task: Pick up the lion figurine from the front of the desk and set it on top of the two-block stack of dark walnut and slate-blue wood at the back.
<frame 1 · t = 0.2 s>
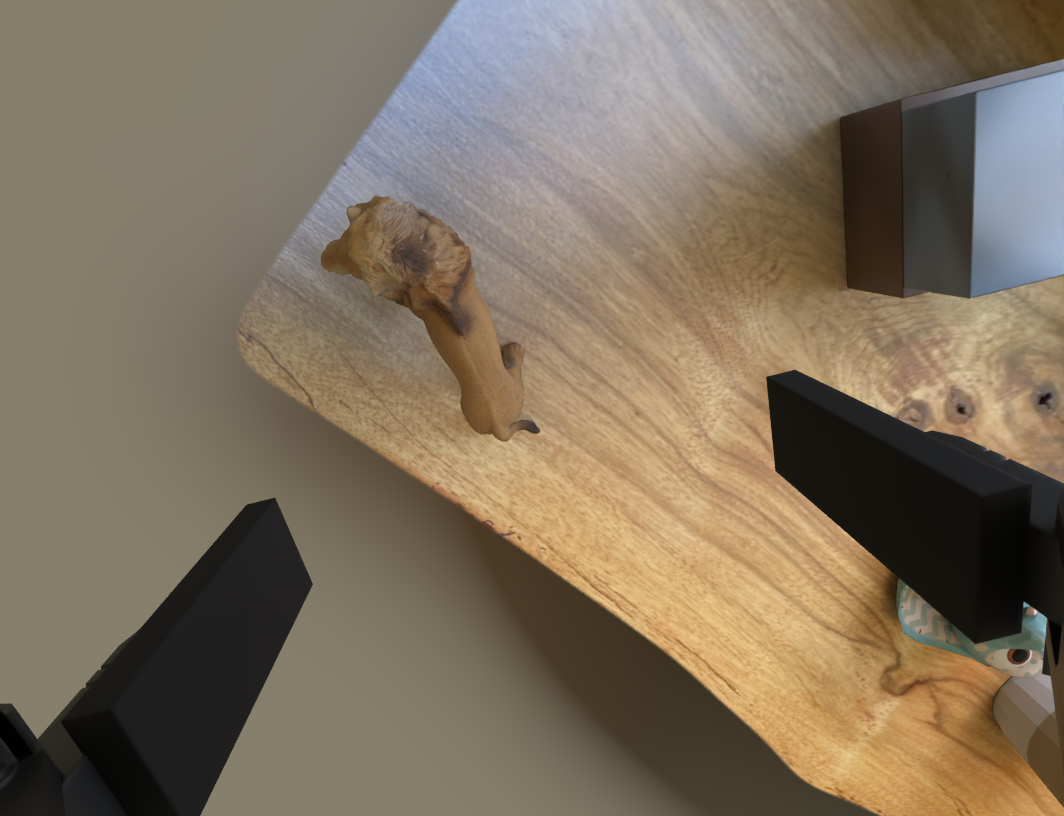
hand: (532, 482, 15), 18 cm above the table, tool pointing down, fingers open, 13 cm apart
coffee cup: (1033, 695, 43), on the table
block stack: (942, 182, 30), on the table
lion figurine: (457, 320, 31), on the table
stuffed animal: (949, 569, 39), on the table
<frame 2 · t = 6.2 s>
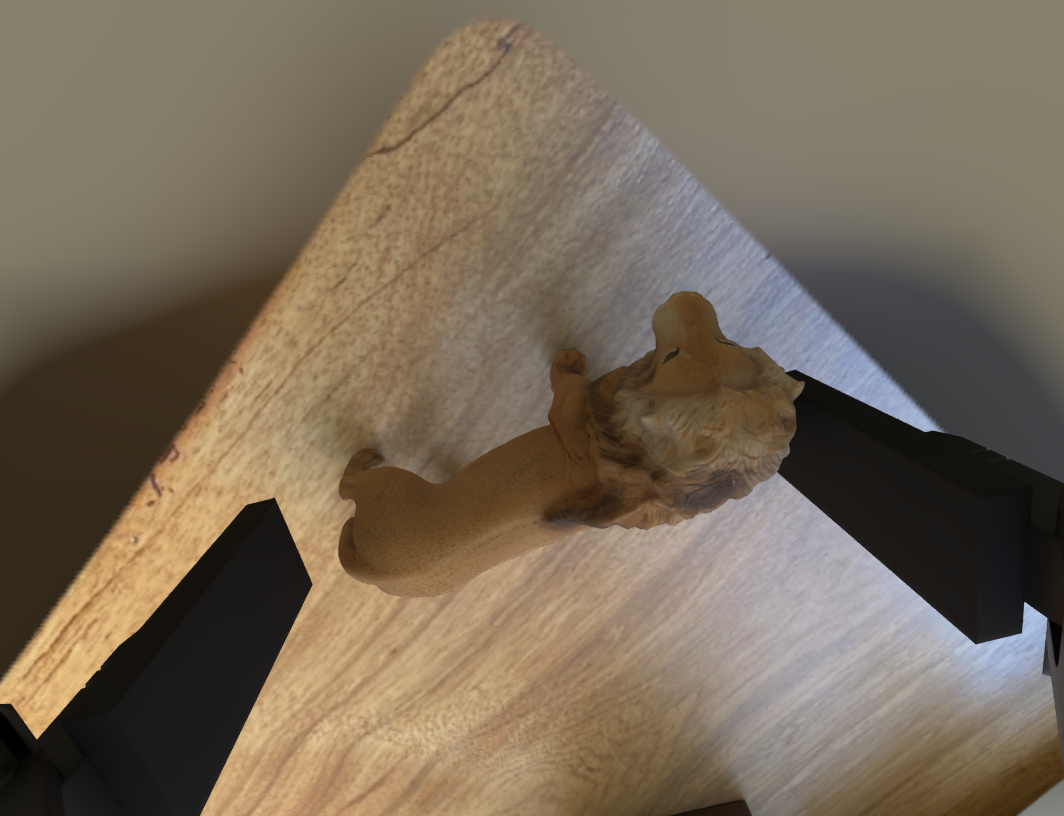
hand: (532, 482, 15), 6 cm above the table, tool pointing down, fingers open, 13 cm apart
lion figurine: (516, 413, 20), on the table
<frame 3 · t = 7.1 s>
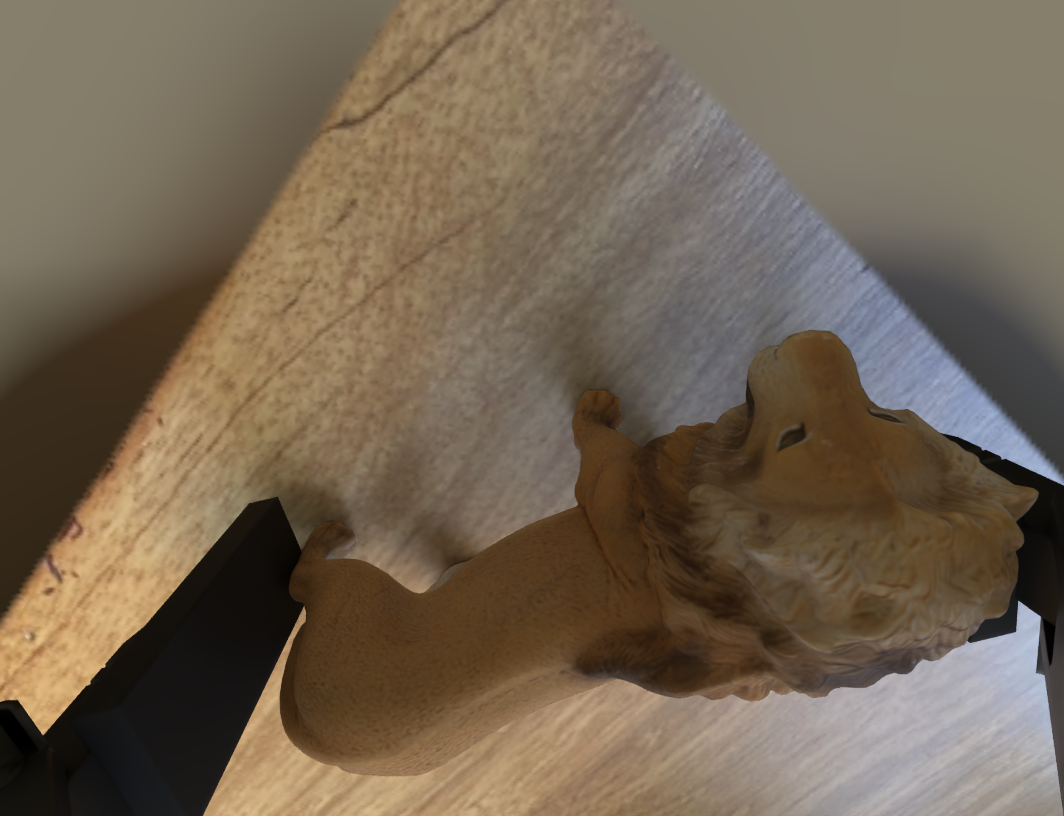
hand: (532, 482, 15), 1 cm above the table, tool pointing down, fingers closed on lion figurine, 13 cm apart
lion figurine: (526, 471, 15), on the table, touching gripper
when the fingers open (9 cm above the table, at t = 15.3 s): lion figurine stays where it is, resting on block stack.
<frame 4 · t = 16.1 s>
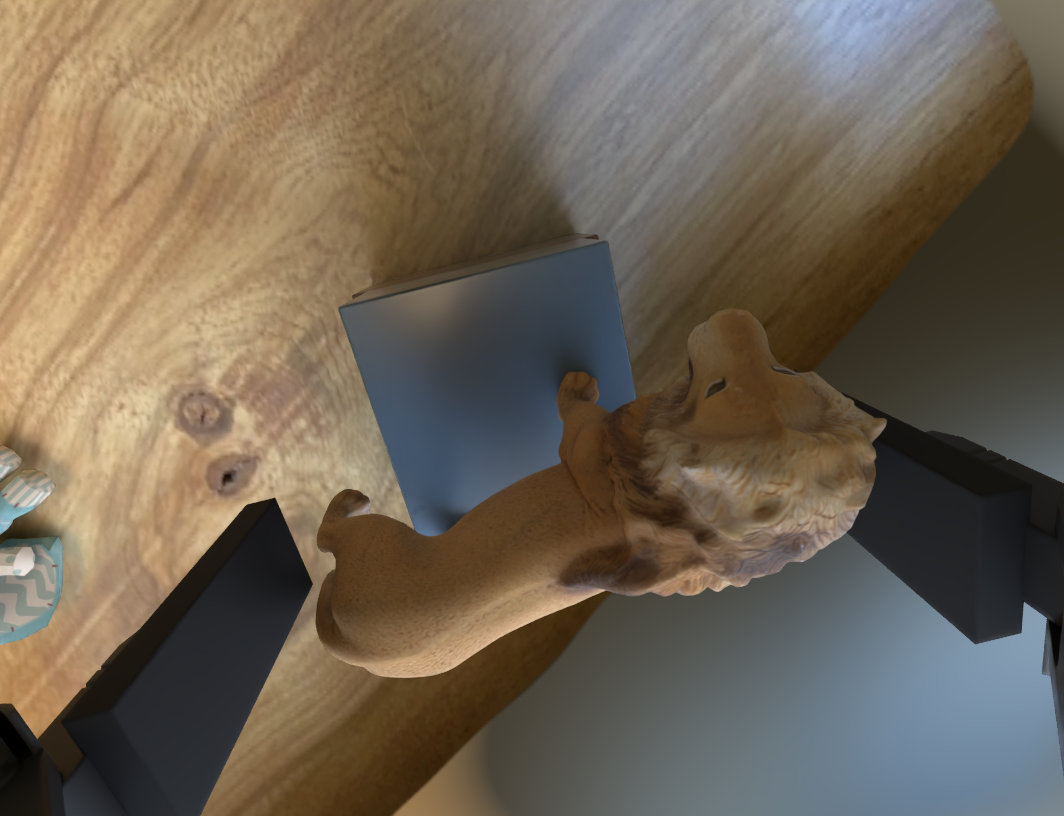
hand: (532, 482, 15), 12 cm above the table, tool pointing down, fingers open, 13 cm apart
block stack: (507, 377, 26), on the table
lion figurine: (518, 444, 18), point 8 cm above the table, touching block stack
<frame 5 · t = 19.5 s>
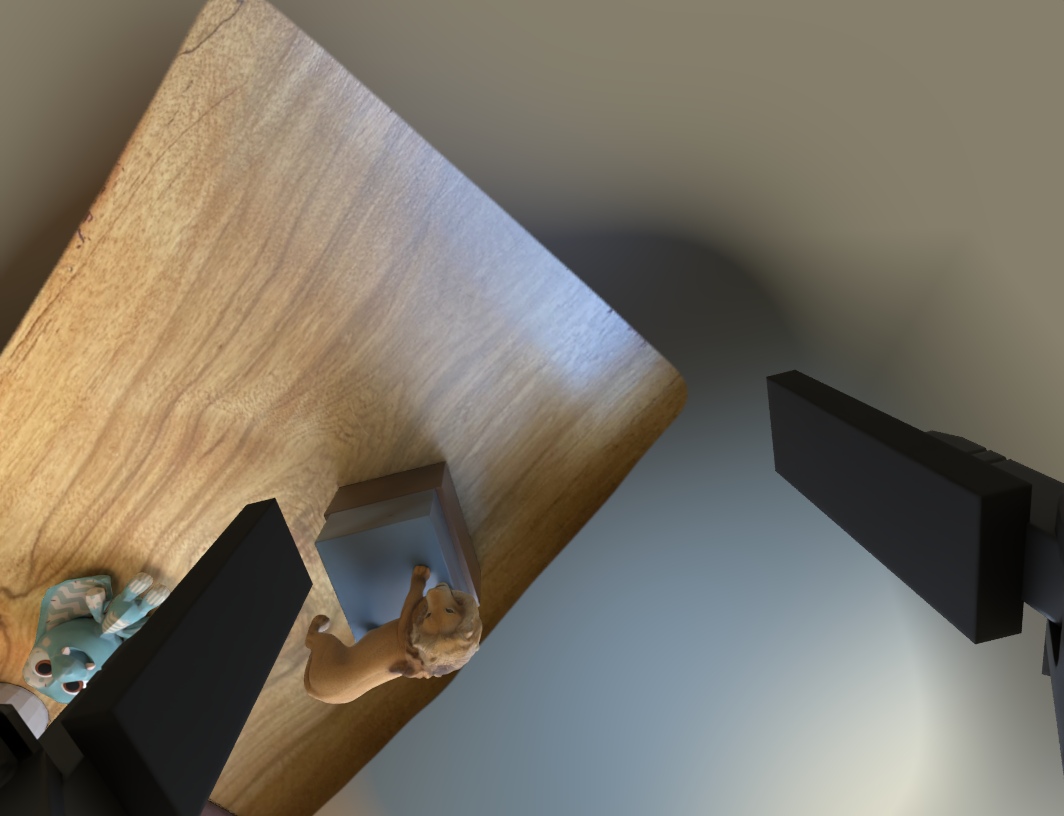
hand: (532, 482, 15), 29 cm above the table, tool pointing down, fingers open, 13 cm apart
coffee cup: (7, 711, 50), on the table
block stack: (412, 531, 47), on the table
lion figurine: (397, 593, 39), point 8 cm above the table, touching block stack
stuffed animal: (122, 612, 48), on the table
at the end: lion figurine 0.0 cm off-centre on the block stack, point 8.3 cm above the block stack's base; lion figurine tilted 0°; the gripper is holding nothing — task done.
